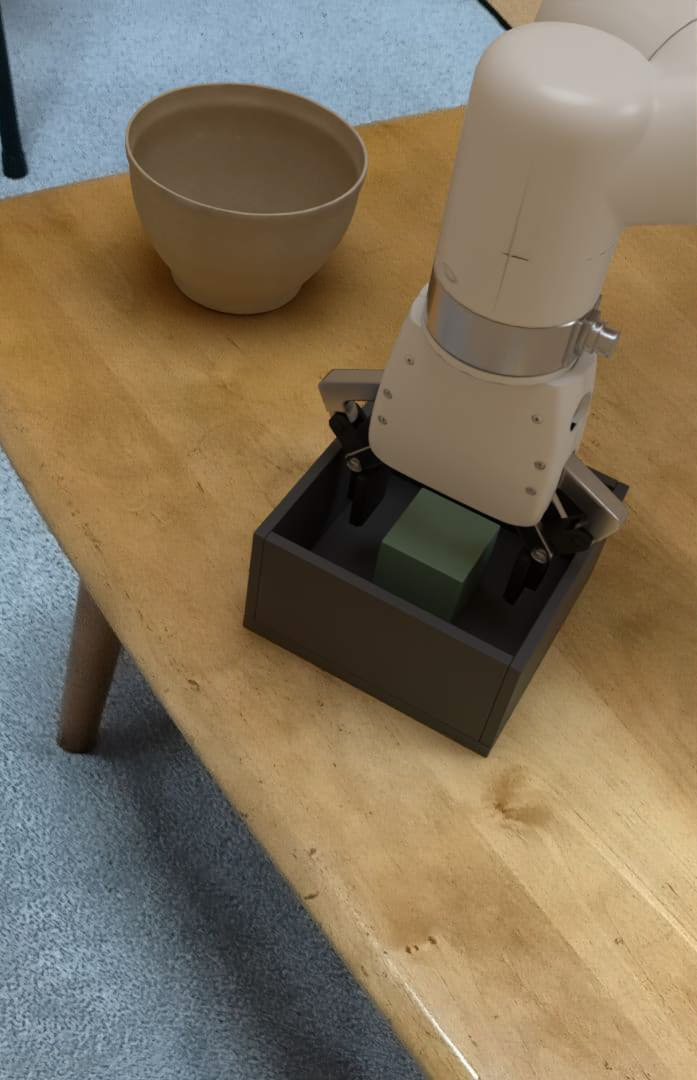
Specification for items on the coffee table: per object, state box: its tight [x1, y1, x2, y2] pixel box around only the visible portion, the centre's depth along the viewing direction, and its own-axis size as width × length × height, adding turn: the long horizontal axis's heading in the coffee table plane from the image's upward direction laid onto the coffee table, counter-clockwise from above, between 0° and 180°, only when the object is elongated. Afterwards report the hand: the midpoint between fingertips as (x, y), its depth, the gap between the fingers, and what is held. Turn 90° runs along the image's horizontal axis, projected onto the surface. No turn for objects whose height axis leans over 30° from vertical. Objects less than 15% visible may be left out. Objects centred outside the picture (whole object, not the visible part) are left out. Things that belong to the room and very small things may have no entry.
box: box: [372, 488, 500, 625], centre depth 70 cm, size 5×5×5 cm
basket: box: [242, 401, 630, 758], centre depth 70 cm, size 15×15×8 cm
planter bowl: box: [124, 81, 369, 315], centre depth 86 cm, size 16×16×11 cm
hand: (441, 548), depth 69 cm, fingers open, 9 cm apart
